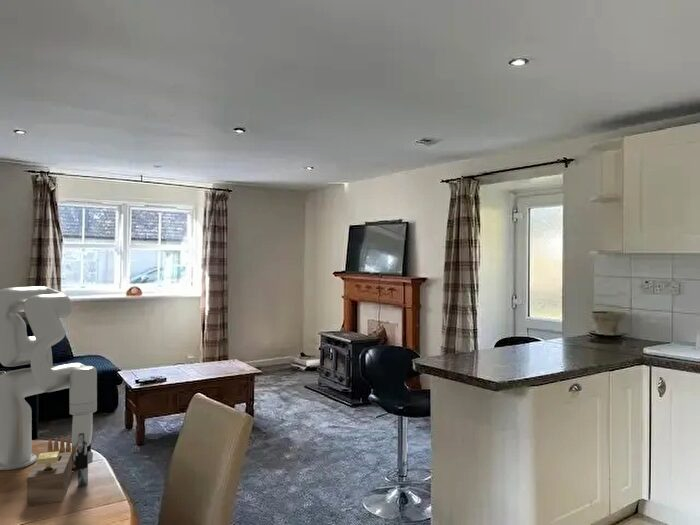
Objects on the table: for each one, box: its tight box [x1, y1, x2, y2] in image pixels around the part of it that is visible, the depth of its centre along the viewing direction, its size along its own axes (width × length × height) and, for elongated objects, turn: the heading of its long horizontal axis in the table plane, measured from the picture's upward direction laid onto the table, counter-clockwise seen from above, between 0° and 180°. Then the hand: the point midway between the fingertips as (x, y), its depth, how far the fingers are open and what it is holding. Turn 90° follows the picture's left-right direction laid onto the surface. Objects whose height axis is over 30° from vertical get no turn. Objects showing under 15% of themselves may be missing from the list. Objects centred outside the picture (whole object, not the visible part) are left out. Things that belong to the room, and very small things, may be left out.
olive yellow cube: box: [36, 451, 59, 471], centre depth 153 cm, size 5×5×5 cm
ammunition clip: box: [46, 434, 78, 472], centre depth 171 cm, size 11×2×12 cm, turn 125°
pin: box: [73, 450, 94, 488], centre depth 161 cm, size 5×5×10 cm
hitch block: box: [26, 451, 73, 507], centre depth 157 cm, size 18×9×8 cm, turn 21°
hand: (83, 462), depth 161 cm, fingers open, 9 cm apart
